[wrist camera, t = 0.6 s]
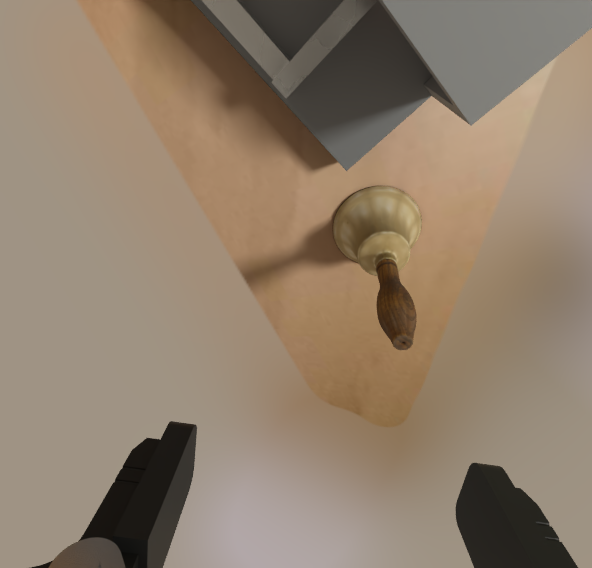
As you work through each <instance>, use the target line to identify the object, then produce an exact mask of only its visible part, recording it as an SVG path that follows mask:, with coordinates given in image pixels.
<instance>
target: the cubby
mask: <svg viewBox="0 0 592 568" xmlns="http://www.w3.org/2000/svg"><path fill="white" fill-rule="evenodd" d="M191 1H192V2H193V3H194V4H195V5H196V6H197V8H198V9H199V10H200V11H201V12H202V13H203V14H204V15H205V16H206V17H207V19H208V20H209V21H210V22H211V23H212V24H213V25H214V26H215V27H216V28H217V30H218V31H219V32H220V33H221V34H222V35H223V36H224V37H225V38H226V39H227V40H228V42H229V43H230V44H231V45H232V46H233V47H234V48H235V49H236V50H237V51H238V53H239V54H240V55H241V56H242V57H243V58H244V59H245V60H246V61H247V62H248V63H249V65H250V66H251V67H252V68H253V69H254V70H255V71H256V72H257V73H258V74H259V76H260V77H261V78H262V79H263V80H264V81H265V82H266V83H267V84H268V85H269V87H270V88H271V89H272V90H273V91H274V92H275V93H276V94H277V95H278V96H279V97H280V99H281V100H282V101H283V102H284V103H285V104H286V105H287V106H288V107H289V108H290V110H291V111H292V112H293V113H294V114H295V115H296V116H297V117H298V118H299V119H300V121H301V122H302V123H303V124H304V125H305V126H306V127H307V128H308V129H309V130H310V131H311V133H312V134H313V135H314V136H315V137H316V138H317V139H318V140H319V141H320V142H321V144H322V145H323V146H324V147H325V148H326V149H327V150H328V151H329V152H330V153H331V155H332V156H333V157H334V158H335V159H336V160H337V161H338V162H339V163H340V164H341V165H342V167H343V168H344V169H345V170H346V171H347V170H348V169H349V168H350V167H352V166H353V165H354V164H355V163H356V162H357V161H358V160H359V159H361V158H362V157H363V156H364V155H365V154H366V153H367V152H369V151H370V150H371V149H372V148H373V147H374V146H375V145H376V144H378V143H379V142H380V141H381V140H382V139H383V138H384V137H385V136H387V135H388V134H389V133H390V132H391V131H392V130H393V129H395V128H396V127H397V126H398V125H399V124H400V123H401V122H402V121H404V120H405V119H406V118H407V117H408V116H409V115H410V114H411V113H413V112H414V111H415V110H416V109H417V108H418V107H419V106H421V105H422V104H423V103H424V102H425V101H426V100H427V99H428V98H430V97H431V96H433V97H434V98H435V99H437V100H438V101H439V102H441V103H442V104H443V105H445V106H446V107H447V108H449V109H450V110H451V111H452V112H454V113H455V114H456V115H458V116H459V117H460V118H462V119H463V120H464V121H466V122H467V123H468V124H470V125H472V124H474V123H475V122H476V121H477V120H479V119H480V118H481V117H482V116H484V115H485V114H486V113H487V112H488V111H490V110H491V109H492V108H493V107H495V106H496V105H497V104H498V103H500V102H501V101H502V100H503V99H505V98H506V97H507V96H508V95H510V94H511V93H512V92H513V91H514V90H516V89H517V88H518V87H519V86H521V85H522V84H523V83H524V82H526V81H527V80H528V79H529V78H531V77H532V76H533V75H534V74H536V73H537V72H538V71H539V70H540V69H542V68H543V67H544V66H545V65H547V64H548V63H549V62H550V61H552V60H553V59H554V58H555V57H557V56H558V55H559V54H560V53H561V52H563V51H564V50H565V49H566V48H568V47H569V46H570V45H571V44H573V43H574V42H575V41H576V40H577V39H579V38H580V37H581V36H583V35H584V34H585V33H586V32H587V31H589V30H590V29H591V28H592V0H378V1H377V2H376V3H375V4H374V5H373V6H372V7H371V8H370V9H369V10H368V11H367V12H366V14H365V15H364V16H363V17H362V18H361V19H360V20H359V21H358V22H357V23H356V24H355V25H354V26H353V27H352V29H351V30H350V31H349V32H348V33H347V34H346V35H345V36H344V37H343V38H342V39H341V40H340V41H339V43H338V44H337V45H336V46H335V47H334V48H333V49H332V50H331V51H330V52H329V53H328V54H327V55H326V57H325V58H324V59H323V60H322V61H321V62H320V63H319V64H318V65H317V66H316V67H315V68H314V69H313V70H312V72H311V73H310V74H309V75H308V76H307V77H306V78H305V79H304V80H303V81H302V82H301V83H300V84H299V86H298V87H297V88H296V89H295V90H294V91H293V92H292V93H291V94H290V95H289V96H288V97H287V98H285V97H284V96H283V95H282V94H281V93H280V91H279V90H278V89H277V88H276V87H275V86H274V85H273V84H272V83H271V82H272V81H273V79H272V78H271V77H270V76H269V75H268V74H267V73H266V71H265V70H264V69H263V68H262V67H261V66H260V65H259V64H258V63H257V61H256V60H255V59H254V58H253V57H252V56H251V55H250V54H249V53H248V51H247V50H246V49H245V48H244V47H243V46H242V45H241V44H240V43H239V41H238V40H237V39H236V38H235V37H234V36H233V35H232V34H231V33H230V31H229V30H228V29H227V28H226V27H225V26H224V25H223V24H222V23H221V21H220V20H219V19H218V18H217V17H216V16H215V15H214V14H213V13H212V11H211V10H210V9H209V8H208V7H207V6H206V5H205V4H204V3H203V1H202V0H191ZM342 1H343V0H240V2H241V3H242V4H243V5H244V6H245V7H246V9H247V10H248V11H249V12H250V13H251V14H252V15H253V17H254V18H255V19H256V20H257V21H258V22H259V24H260V25H261V26H262V27H263V28H264V29H265V31H266V32H267V33H268V34H269V35H270V36H271V38H272V39H273V40H274V41H275V42H276V43H277V45H278V46H279V47H280V48H281V49H282V50H283V52H284V53H285V54H286V55H287V56H288V57H289V58H290V60H291V59H292V58H293V56H294V55H295V54H296V53H297V52H298V51H299V50H300V49H301V47H302V46H303V45H304V44H305V43H306V42H307V41H308V40H309V38H310V37H311V36H312V35H313V34H314V33H315V32H316V31H317V29H318V28H319V27H320V26H321V25H322V24H323V23H324V22H325V20H326V19H327V18H328V17H329V16H330V15H331V14H332V13H333V11H334V10H335V9H336V8H337V7H338V6H339V5H340V4H341V2H342Z"/></svg>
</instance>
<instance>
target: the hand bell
mask: <svg viewBox="0 0 592 568" xmlns="http://www.w3.org/2000/svg"><path fill="white" fill-rule="evenodd" d="M421 226H422V219H421V213H420V210H419V208H418V206H417V204H416V203H415V201H414V200H413V199H412V198H411V197H410V196H409V195H408V194H406V193H405V192H403V191H401V190H399V189H397V188H393V187H389V186H374V187H369V188H366V189H363V190H360V191H358V192H356V193H355V194H353V195H352V196H350V197H349V198H348V199H347V200H346V201H345V202H344V203H343V204H342V205H341V207H340V208H339V210H338V211H337V213H336V216H335V219H334V223H333V234H334V239H335V242H336V244H337V246H338V248H339V249H340V250H341V252H342V253H343V254H344V255H346V256H347V257H348V258H350V259H351V260H353V261H355V262H357V263H359V264H360V266H361V267H362V268H363V270H365V271H366V272H367V273H369V274H371V275H375V276H378V279H379V283H380V290H379V293H378V296H377V315H378V319H379V323H380V325H381V327H382V329H383V330H384V332H385V333H386V335H387V336H388V337H389V339H390V340H391V342H392V344H393V346H394V347H395V348H396V349H398V350H407V349H409V348H410V347H411V346H412V344H413V336H414V331H415V327H416V310H415V306H414V303H413V300H412V298H411V296H410V294H409V293H408V291H407V290H406V289H405V287H404V286H403V285H402V284H401V283H400V279H399V274H398V271H400V270H401V269H402V268H403V267H404V266H405V265H406V264H407V262H408V260H409V257H410V249H411V248H412V247H413V246H414V244H415V243H416V241H417V239H418V237H419V234H420V231H421Z"/></svg>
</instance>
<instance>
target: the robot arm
mask: <svg viewBox="0 0 592 568" xmlns="http://www.w3.org/2000/svg"><path fill="white" fill-rule="evenodd" d="M196 433H197V427H196V425H194V424H186V423H179V422H172V421H171V422H169V424H168V426H167V428H166V430H165V432H164V434H163V436H162V438H161V440H159V439H152V438H147V439H145V440H144V441H143V442H142V443H140V444H139V445H138V446H137V447H135V448H134V449H133V450H132V451H131V453H130V455H129V456H128V458H127V460H126V462H125V463H124V465H123V468H122V469H121V470H120V472H119V474H118V475H117V477H116V479H115V482H114V483H113V484H112V486H111V488H110V489H109V491H108V493H107V495H106V497H105V498H104V500H103V502H102V503H101V505H100V507H99V509H98V510H97V512H96V514H95V516H94V517H93V519H92V521H91V522H90V524H89V526H88V528H87V529H86V531H85V533H84V535H83V536H82V537H81V539H80V540H79V541H78V542H76V543H74V544H72V545H70V546H69V547H67V548H66V549H64V550H63V551H62V552H61V553H60V554H59V555H58V556H57V557H56V558H55V559H54V560H53V561H51V562H49V563H46V564H43V565H40V566H36V567H32V568H163V565H164V562H165V559H166V556H167V553H168V550H169V548H170V545H171V542H172V539H173V536H174V533H175V530H176V527H177V524H178V521H179V518H180V515H181V513H182V510H183V507H184V504H185V501H186V498H187V495H188V492H189V489H190V485H191V481H192V477H193V471H194V461H195V460H194V459H195V447H196ZM456 520H457V524H458V527H459V530H460V533H461V535H462V538H463V540H464V543H465V545H466V548H467V550H468V553H469V555H470V558H471V560H472V563H473V565H474V568H578V567H577V565H576V564H575V562H574V561H573V559H572V558H571V556H570V554H569V553H568V551H567V550H566V548H565V547H564V545H563V544H562V542H559V538H558V536H557V534H556V533H555V531H554V530H553V528H552V527H550V526H549V522H548V520H547V519H546V517H545V516H544V514H543V513H542V511H541V509H540V508H539V506H538V505H537V504H536V503H535V502H534V501H533V500H532V499H531V498H530V497H529V496H528V495H527V494H526V493H525V492H524V491H523V490H521V489H520V488H515V487H514V485H513V483H512V482H511V480H510V479H509V477H508V475H507V474H506V472H505V471H504V469H503V468H502V467H500V466H494V465H487V464H478V463H472V464H471V465H470V467H469V469H468V472H467V475H466V477H465V480H464V483H463V486H462V489H461V491H460V494H459V497H458V500H457V504H456Z"/></svg>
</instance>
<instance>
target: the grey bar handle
mask: <svg viewBox="0 0 592 568" xmlns="http://www.w3.org/2000/svg"><path fill="white" fill-rule="evenodd" d="M202 1H203V3H204V4H205V5H206V6H207V7H208V8H209V9H210V10H211V11H212V13H213V14H214V15H215V16H216V17H217V18H218V19H219V20H220V21H221V23H222V24H223V25H224V26H225V27H226V28H227V29H228V30H229V31H230V33H231V34H232V35H233V36H234V37H235V38H236V39H237V40H238V41H239V43H240V44H241V45H242V46H243V47H244V48H245V49H246V50H247V51H248V53H249V54H250V55H251V56H252V57H253V58H254V59H255V60H256V61H257V63H258V64H259V65H260V66H261V67H262V68H263V69H264V70H265V71H266V73H267V74H268V75H269V76H270V77H271V78H272V79H273V81H272V82H271V83H272V84H273V85H274V86H275V87H276V88H277V89H278V90H279V91H280V93H281V94H282V95H283V96H284V97H285V98H287V97H288V96H289V95H290V94H291V93H292V92H293V91H294V90H295V89H296V88H297V87H298V86H299V84H300V83H301V82H302V81H303V80H304V79H305V78H306V77H307V76H308V75H309V74H310V73H311V72H312V70H313V69H314V68H315V67H316V66H317V65H318V64H319V63H320V62H321V61H322V60H323V59H324V58H325V57H326V55H327V54H328V53H329V52H330V51H331V50H332V49H333V48H334V47H335V46H336V45H337V44H338V43H339V41H340V40H341V39H342V38H343V37H344V36H345V35H346V34H347V33H348V32H349V31H350V30H351V29H352V27H353V26H354V25H355V24H356V23H357V22H358V21H359V20H360V19H361V18H362V17H363V16H364V15H365V14H366V12H367V11H368V10H369V9H370V8H371V7H372V6H373V5H374V4H375V3H376V2H377V1H378V0H343V1H342V2H341V4H340V5H339V6H338V7H337V8H336V9H335V10H334V11H333V13H332V14H331V15H330V16H329V17H328V18H327V19H326V20H325V22H324V23H323V24H322V25H321V26H320V27H319V28H318V29H317V31H316V32H315V33H314V34H313V35H312V36H311V37H310V38H309V40H308V41H307V42H306V43H305V44H304V45H303V46H302V47H301V49H300V50H299V51H298V52H297V53H296V54H295V55H294V56H293V58H292V59H291V60H290V58H289V57H288V56H287V55H286V54H285V53H284V52H283V50H282V49H281V48H280V47H279V46H278V45H277V43H276V42H275V41H274V40H273V39H272V38H271V36H270V35H269V34H268V33H267V32H266V31H265V29H264V28H263V27H262V26H261V25H260V24H259V22H258V21H257V20H256V19H255V18H254V17H253V15H252V14H251V13H250V12H249V11H248V10H247V9H246V7H245V6H244V5H243V4H242V3H241V2H240V0H202Z"/></svg>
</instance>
